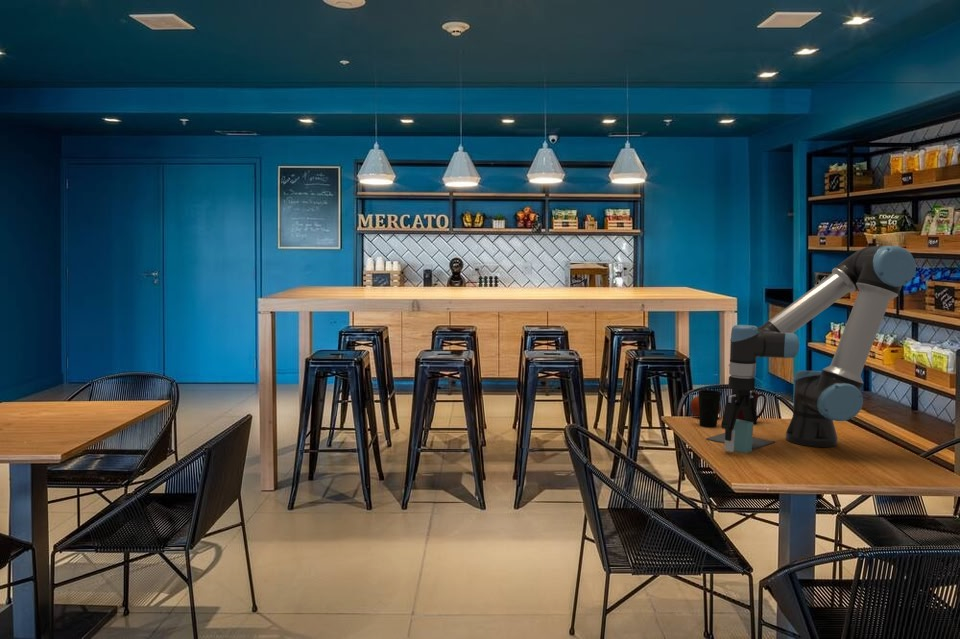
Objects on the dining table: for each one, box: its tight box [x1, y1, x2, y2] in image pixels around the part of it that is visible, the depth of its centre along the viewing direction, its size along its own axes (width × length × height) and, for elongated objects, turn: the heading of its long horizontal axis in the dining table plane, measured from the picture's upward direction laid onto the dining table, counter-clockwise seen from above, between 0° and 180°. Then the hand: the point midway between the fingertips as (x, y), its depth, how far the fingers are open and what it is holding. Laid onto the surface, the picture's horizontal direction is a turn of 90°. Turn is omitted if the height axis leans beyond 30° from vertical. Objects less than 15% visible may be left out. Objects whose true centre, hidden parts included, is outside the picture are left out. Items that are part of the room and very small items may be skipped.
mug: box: [731, 389, 767, 421], centre depth 262 cm, size 12×9×11 cm
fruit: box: [690, 395, 722, 417], centre depth 269 cm, size 11×10×8 cm
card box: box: [733, 419, 754, 454], centre depth 223 cm, size 4×7×9 cm, turn 43°
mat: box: [705, 432, 775, 451], centre depth 234 cm, size 14×16×1 cm
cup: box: [697, 389, 722, 429], centre depth 255 cm, size 8×8×12 cm
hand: (738, 447), depth 223 cm, fingers open, 11 cm apart
